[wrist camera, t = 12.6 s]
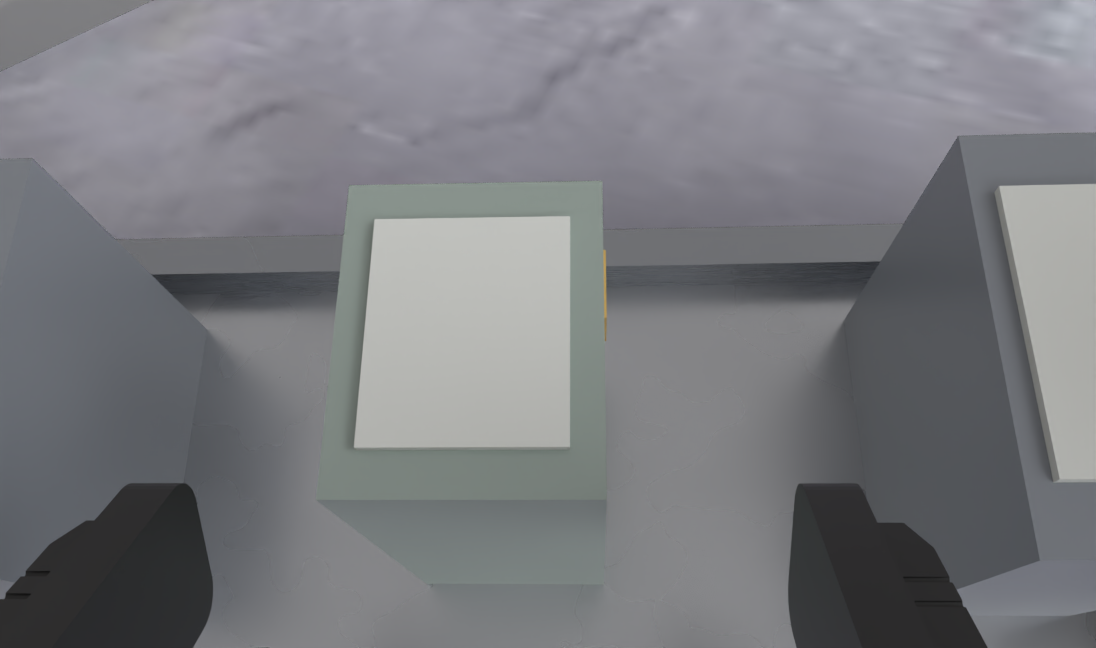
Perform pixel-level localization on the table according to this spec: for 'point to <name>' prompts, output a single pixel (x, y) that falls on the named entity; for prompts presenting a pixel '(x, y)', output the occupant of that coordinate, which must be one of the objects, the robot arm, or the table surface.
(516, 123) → the table surface
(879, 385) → the mounted modules
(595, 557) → the block
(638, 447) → the rail
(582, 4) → the table surface
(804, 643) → the robot arm
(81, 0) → the grey flat block
